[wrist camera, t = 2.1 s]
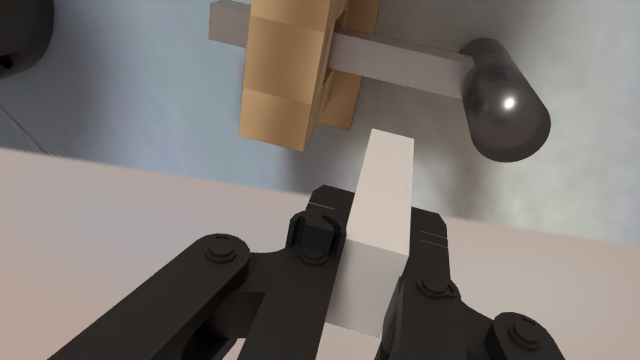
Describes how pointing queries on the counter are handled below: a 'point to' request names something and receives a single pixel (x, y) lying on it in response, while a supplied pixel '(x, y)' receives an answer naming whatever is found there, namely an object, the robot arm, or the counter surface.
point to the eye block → (298, 69)
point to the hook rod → (431, 79)
